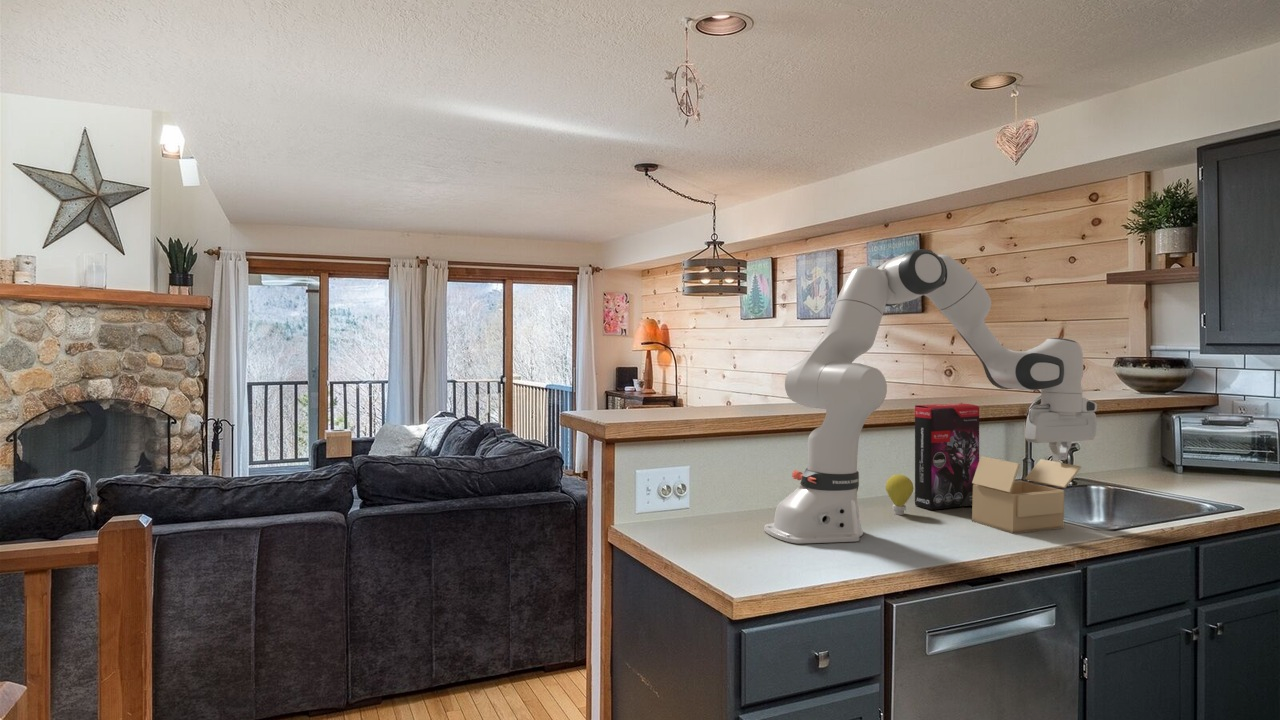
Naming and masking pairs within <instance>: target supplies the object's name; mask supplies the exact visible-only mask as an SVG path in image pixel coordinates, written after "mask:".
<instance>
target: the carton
mask: <svg viewBox="0 0 1280 720" xmlns="http://www.w3.org/2000/svg"><path fill="white" fill-rule="evenodd" d="M971 506H972V507H971V508H972V509H971V512H972V513H971V522H973V521H974V523H976V522H977V523H976V524H980V525H983V524H984V526H986V525H987V526H986V527H989V526H990V528H993V529H996V530H999V531H1003V532H1007V533H1009V534H1013V535H1014V534H1020V533H1021V534H1024V533H1030V532H1031V533H1032V532H1039V531H1049V530H1056V529H1064V524H1065V523H1064V522H1065V521H1064V519H1065V518H1064V517H1065V490H1064V489H1060V488H1057V487H1056V488H1055V487H1053V486H1046V485H1044V484H1043V485H1041V484H1037V483H1035V482H1033V483H1032V482H1030V481H1029V482H1028V481H1024V480H1018V481H1017V480H1015V481H1014V484H1013V487H1012V490H1011V493H1010V492H1006V491H1002V490H998V489H994V488H989V487H985V486H981V485H977V484H974V485H973V501H972V505H971Z"/></svg>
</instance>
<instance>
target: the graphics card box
mask: <svg viewBox="0 0 1280 720" xmlns="http://www.w3.org/2000/svg"><path fill="white" fill-rule="evenodd" d="M979 460H980V406H979V405H976V404H970V403H963V402H960V403H944V404H943V403H941V404H939V403H937V404H915V405H914V505H915V506H917V507H919V508H923V509H926V510H932V511H934V510H935V511H936V510H942V509H943V510H944V509H950V508H959V507H962V508H963V507H970V506H972V501H973V485H974V484H973V483H972V481H973V478H974V475H975V472H976V469H977V466H978V463H979Z"/></svg>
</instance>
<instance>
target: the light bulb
mask: <svg viewBox="0 0 1280 720" xmlns="http://www.w3.org/2000/svg"><path fill="white" fill-rule="evenodd" d="M914 490H915V487H914V484H913V481H912V480H911V479H910V478H909V477H908V476H906V475H904V474H898V473H897V474H893V475H891V477H889V478H888V479H887V481H886V483H885V491H886V493H887V495H888V497H889V498H890V500H891V501H892V503H893V504H892V507H891V508H892V510H893V514H895V515H899V516H901V515H905V511H906V510H907V507H906V505H905V504H906V503H907V502H908V501H909V499H910V498H911V496H912V494H913V492H914Z"/></svg>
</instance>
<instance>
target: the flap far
mask: <svg viewBox="0 0 1280 720" xmlns="http://www.w3.org/2000/svg"><path fill="white" fill-rule="evenodd" d="M1081 469H1082V467H1081V466H1080V465H1076V464H1069V463H1064V462H1061V461H1060V462H1059V461H1056V460H1048V459H1043V458H1040V459H1038V461H1037V463H1036V464H1035V465H1034V467H1033V468H1032V469H1031V470H1030V472H1029V473H1028V474H1027V476H1025V477H1024V479H1025V480H1026V481H1029V482H1030V481H1031V482H1033V483H1039V484H1043V485H1049V486H1051V487H1056V488H1062V489H1066V488H1067V486H1068V485H1069V484H1070V483H1071V481H1072V480H1073V479H1074V478H1075V477H1076V475H1077V474H1078V473H1079V472H1080V470H1081Z"/></svg>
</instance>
